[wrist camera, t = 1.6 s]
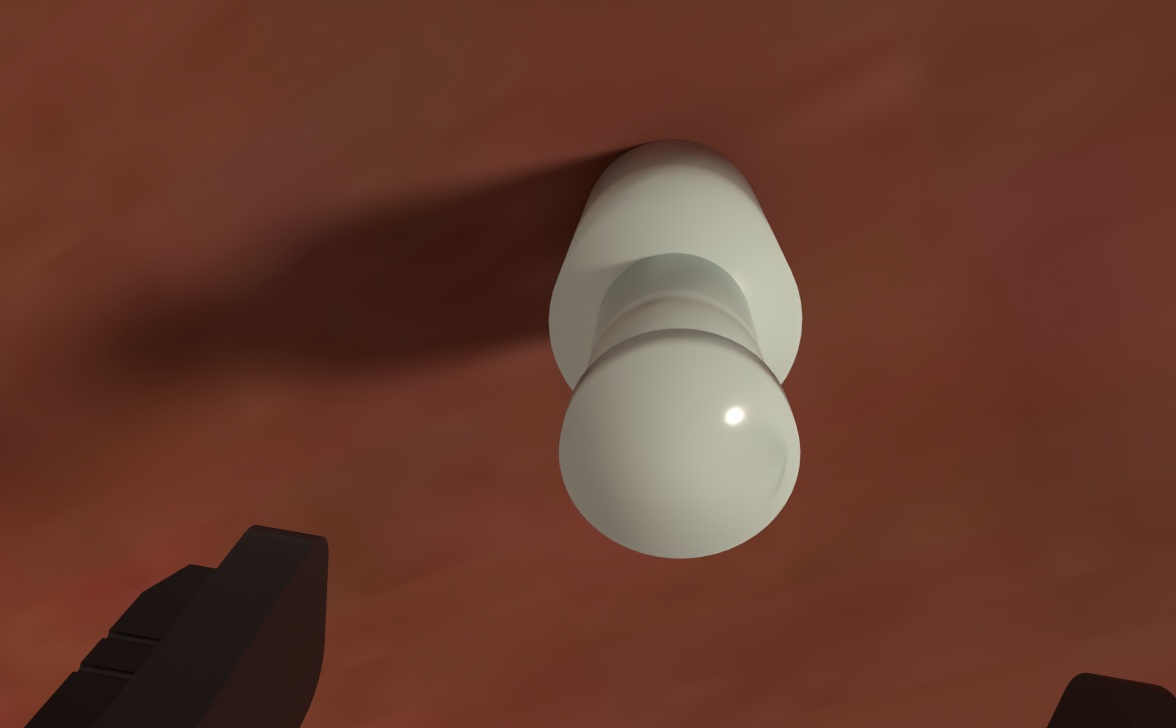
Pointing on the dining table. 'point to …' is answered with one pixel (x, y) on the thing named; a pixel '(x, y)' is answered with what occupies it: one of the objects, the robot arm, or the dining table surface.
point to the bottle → (676, 355)
